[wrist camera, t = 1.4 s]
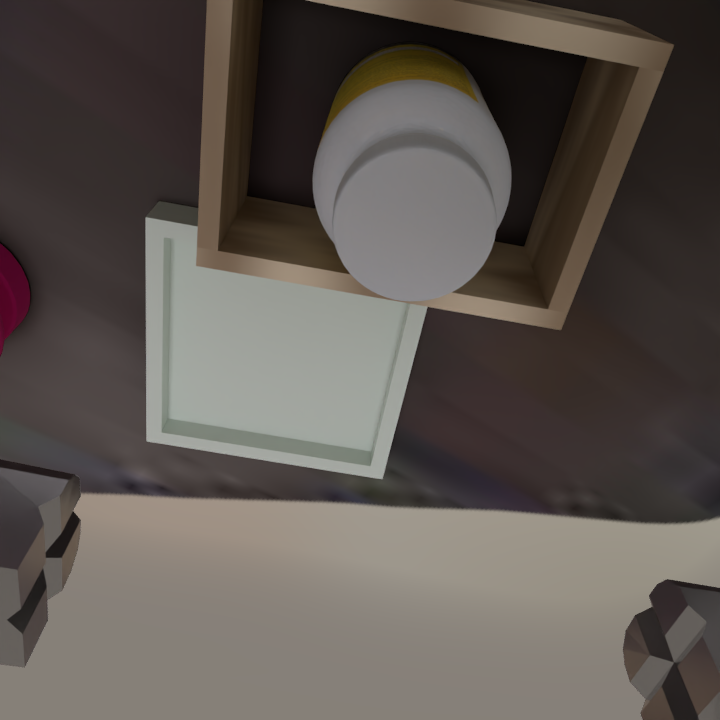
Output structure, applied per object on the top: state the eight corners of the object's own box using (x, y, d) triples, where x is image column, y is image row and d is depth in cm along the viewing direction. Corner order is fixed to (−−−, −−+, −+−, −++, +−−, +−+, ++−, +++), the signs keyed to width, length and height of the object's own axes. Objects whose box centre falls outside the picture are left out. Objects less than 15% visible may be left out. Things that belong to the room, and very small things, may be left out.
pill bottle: (308, 73, 28) (259, 158, 18) (460, 13, 26) (497, 70, 17) (362, 215, 31) (346, 352, 21) (501, 168, 30) (551, 293, 20)
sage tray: (435, 250, 32) (437, 269, 30) (382, 455, 39) (382, 479, 37) (159, 200, 31) (145, 217, 29) (157, 418, 38) (146, 441, 37)
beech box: (621, 20, 26) (674, 44, 21) (535, 264, 32) (560, 330, 27) (246, -57, 25) (209, -50, 20) (228, 209, 31) (196, 265, 26)
